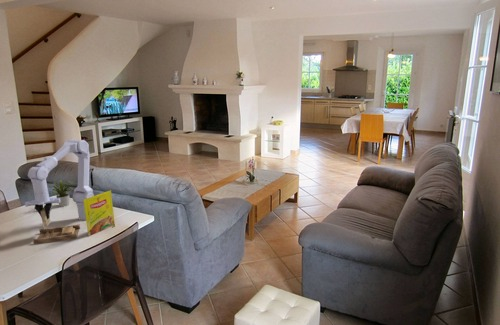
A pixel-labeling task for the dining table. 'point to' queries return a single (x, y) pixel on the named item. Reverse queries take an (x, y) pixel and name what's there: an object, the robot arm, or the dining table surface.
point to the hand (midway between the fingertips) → (45, 218)
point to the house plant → (62, 193)
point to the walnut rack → (55, 234)
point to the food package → (99, 212)
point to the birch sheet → (44, 218)
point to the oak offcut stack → (68, 231)
